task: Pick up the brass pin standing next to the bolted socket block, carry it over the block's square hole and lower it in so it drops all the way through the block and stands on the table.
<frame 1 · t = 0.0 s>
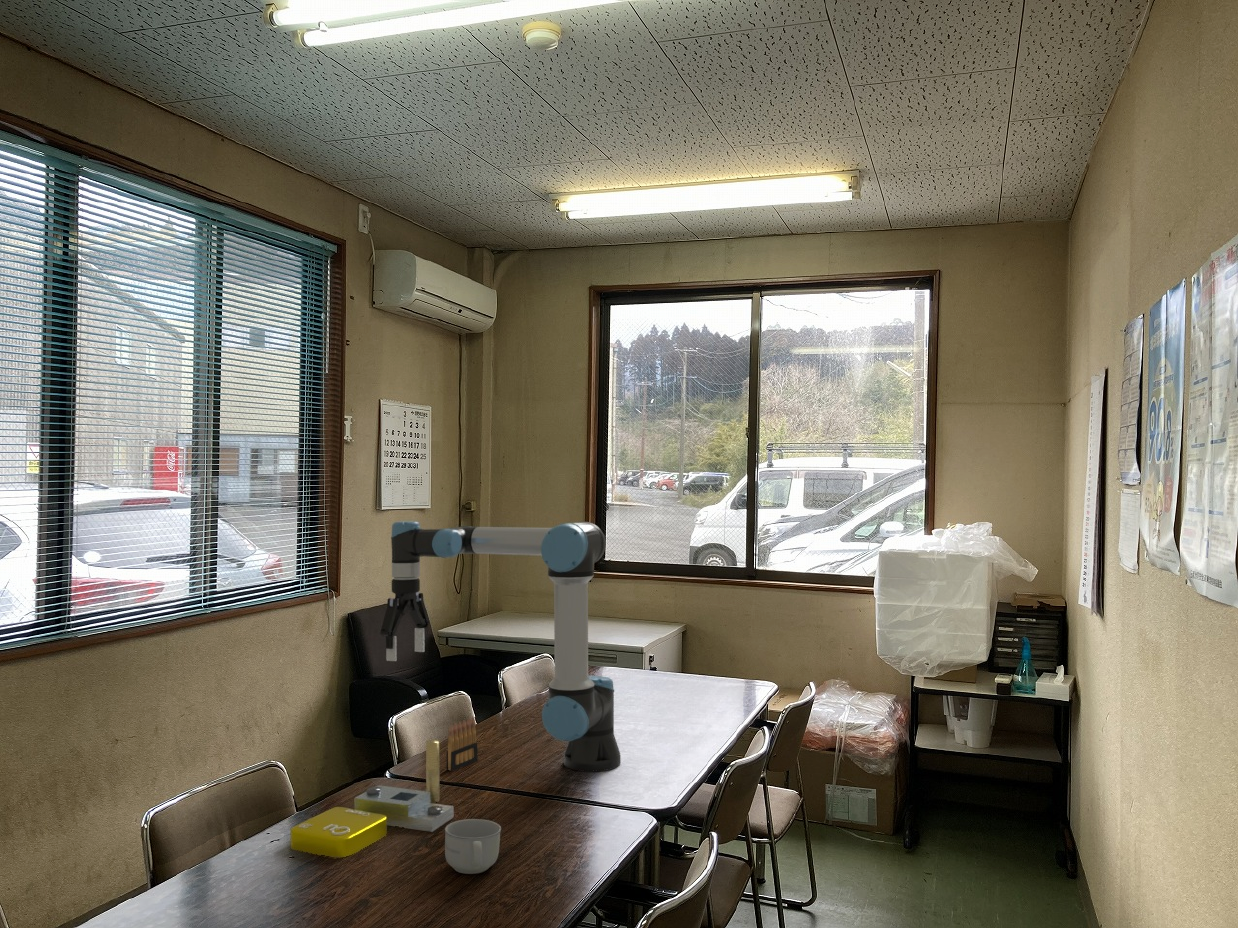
hand: (405, 656, 249), 28 cm above the table, tool pointing down, fingers open, 13 cm apart
bolted socket block: (404, 818, 204), on the table
brass pin: (432, 800, 216), on the table
element tile: (339, 843, 192), on the table
ammunition clip: (462, 766, 242), on the table
teacup: (472, 872, 177), on the table
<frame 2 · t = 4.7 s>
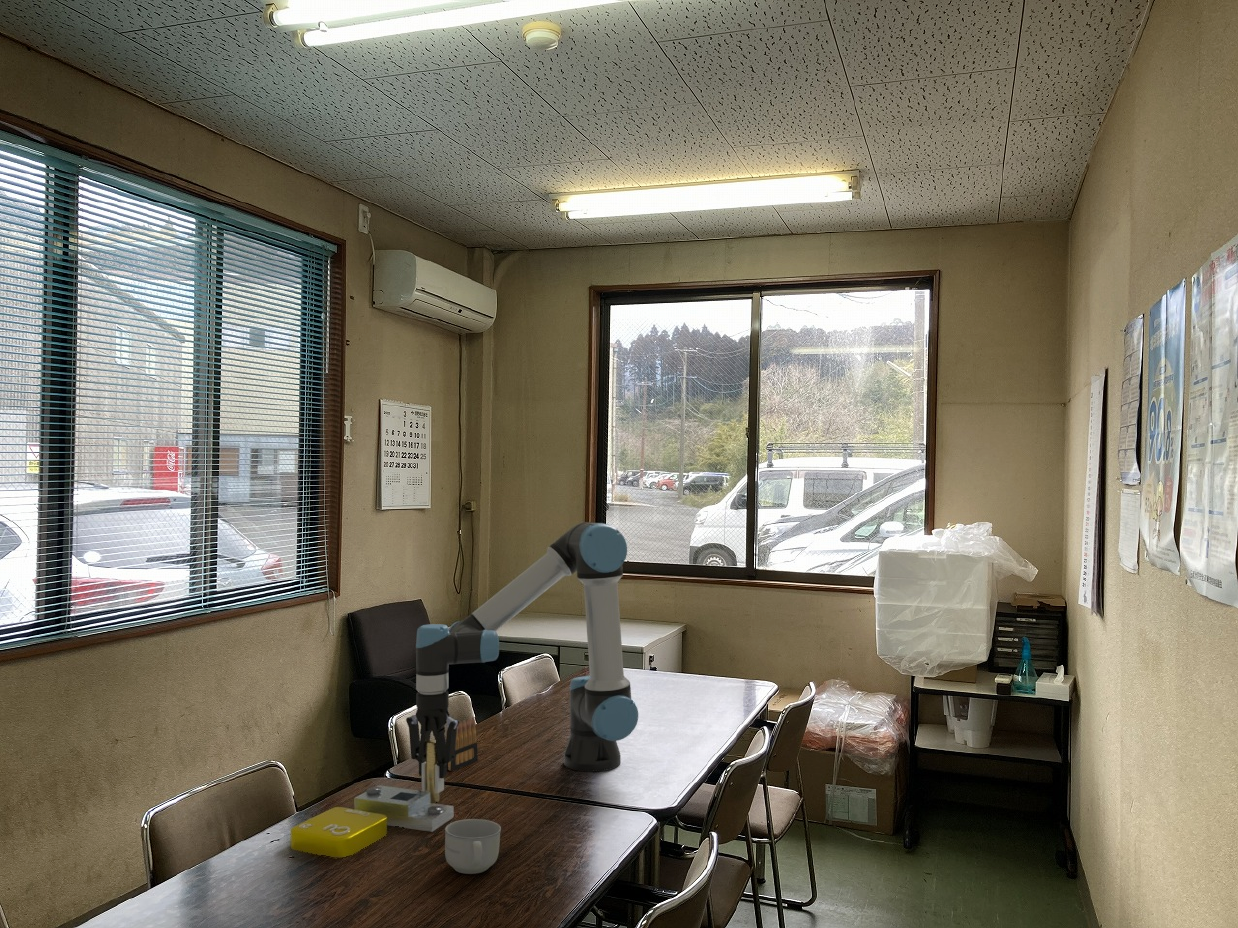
hand: (432, 790, 216), 3 cm above the table, tool pointing down, fingers closed on brass pin, 3 cm apart
brass pin: (432, 800, 216), on the table, touching gripper
everything else where it was.
when the fingers open (6 cm above the table, at t = 9.9 s): brass pin drops 3 cm, resting in bolted socket block.
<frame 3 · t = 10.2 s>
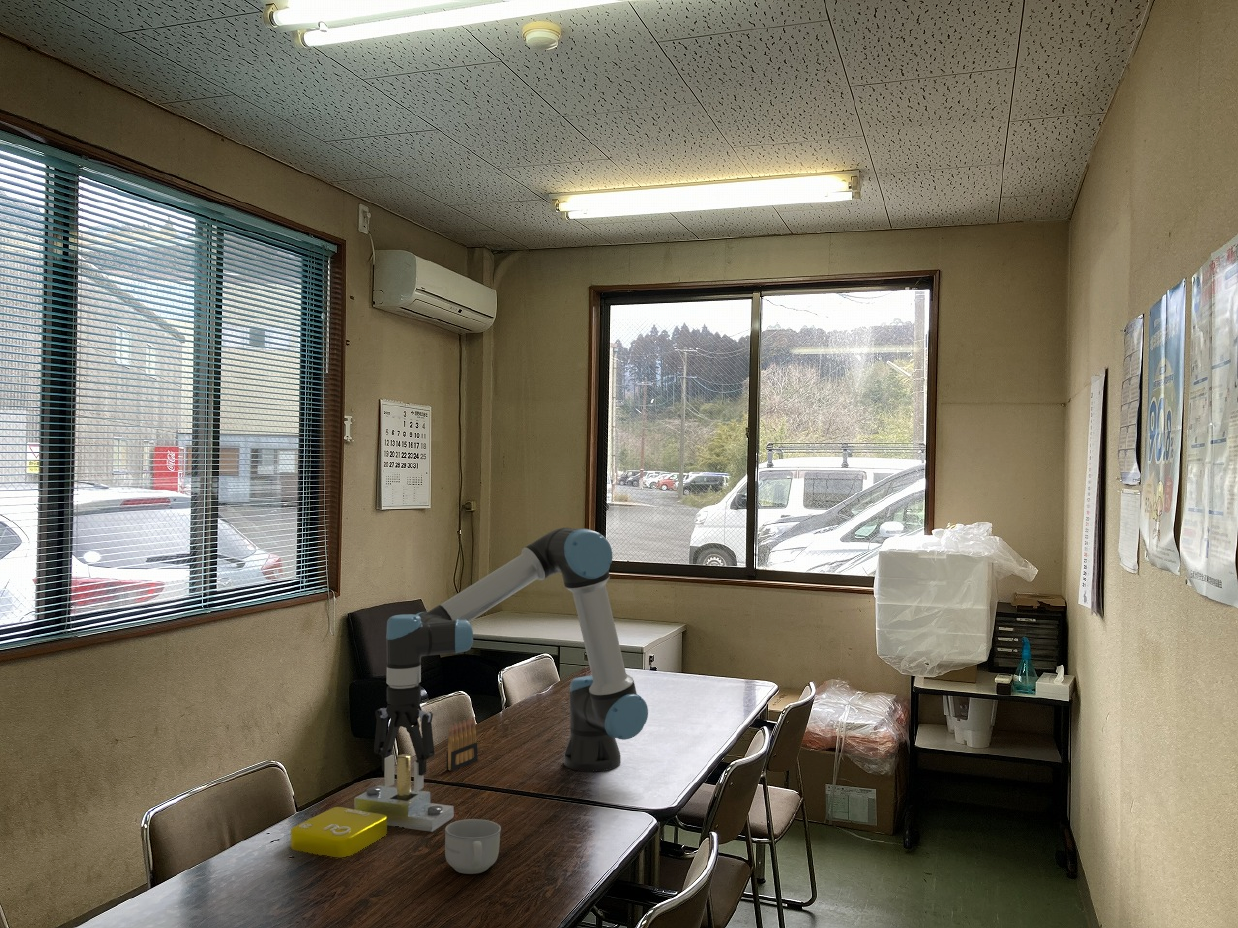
hand: (404, 787, 205), 7 cm above the table, tool pointing down, fingers open, 7 cm apart
brass pin: (404, 818, 204), resting in bolted socket block
everything else where it was.
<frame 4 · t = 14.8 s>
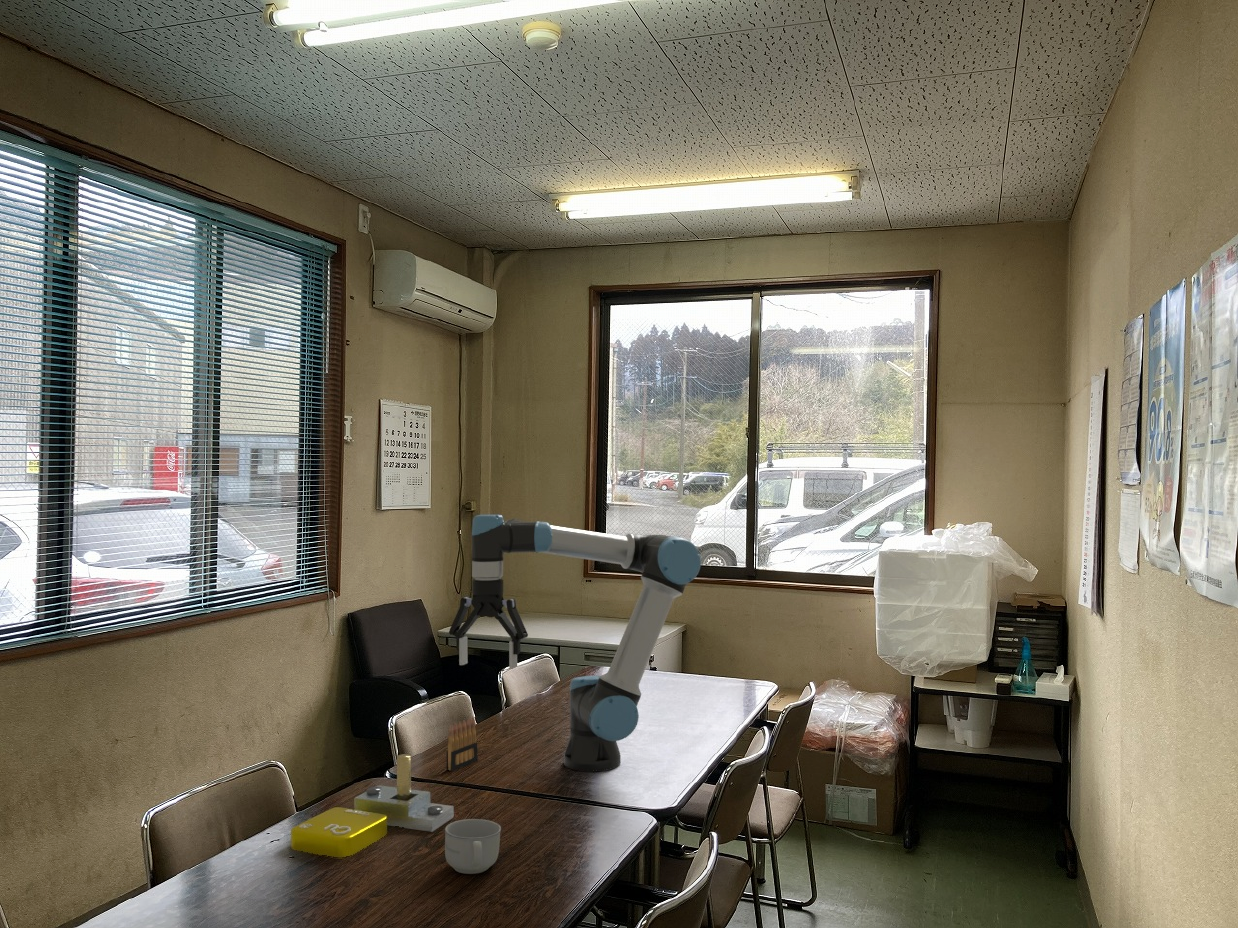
hand: (488, 666, 221), 31 cm above the table, tool pointing down, fingers open, 13 cm apart
nothing on the table moved.
at the end: brass pin 0.0 cm off-centre on the bolted socket block, point 0.0 cm above the bolted socket block's base; brass pin tilted 0°; the gripper is holding nothing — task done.
